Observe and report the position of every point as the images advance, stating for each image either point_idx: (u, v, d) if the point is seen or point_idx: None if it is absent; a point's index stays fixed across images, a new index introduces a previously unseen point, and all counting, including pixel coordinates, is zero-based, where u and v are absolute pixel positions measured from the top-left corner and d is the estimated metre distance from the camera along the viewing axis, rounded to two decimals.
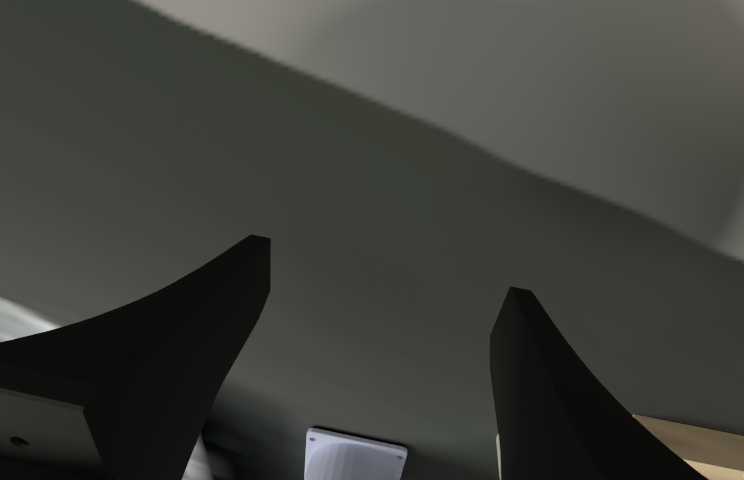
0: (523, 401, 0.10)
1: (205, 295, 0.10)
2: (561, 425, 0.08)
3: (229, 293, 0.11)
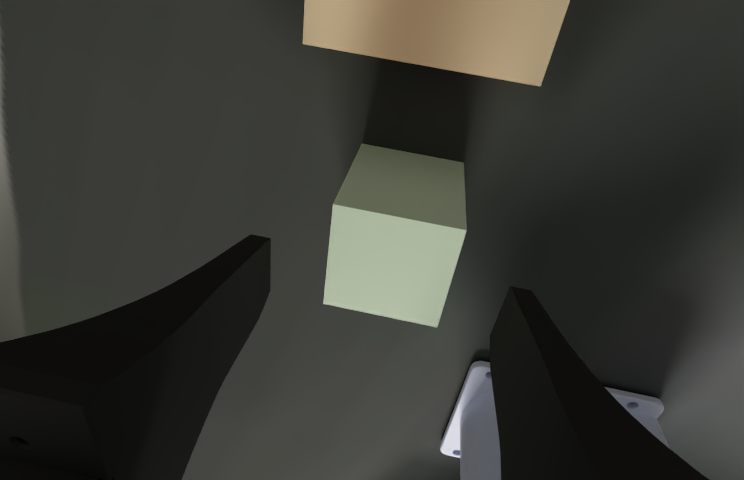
0: (523, 401, 0.10)
1: (205, 295, 0.10)
2: (561, 426, 0.08)
3: (229, 293, 0.11)
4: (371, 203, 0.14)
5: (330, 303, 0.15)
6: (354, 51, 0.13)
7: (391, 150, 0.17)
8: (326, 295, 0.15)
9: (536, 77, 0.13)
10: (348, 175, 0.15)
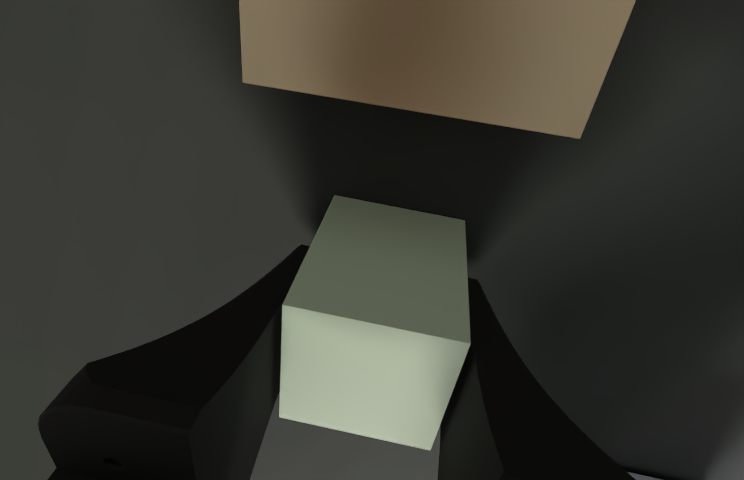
0: (457, 387, 0.10)
1: (272, 309, 0.10)
2: (478, 408, 0.08)
3: None
4: (337, 299, 0.10)
5: (288, 417, 0.12)
6: (315, 92, 0.09)
7: (372, 205, 0.13)
8: (282, 408, 0.11)
9: (574, 126, 0.09)
10: (310, 250, 0.11)
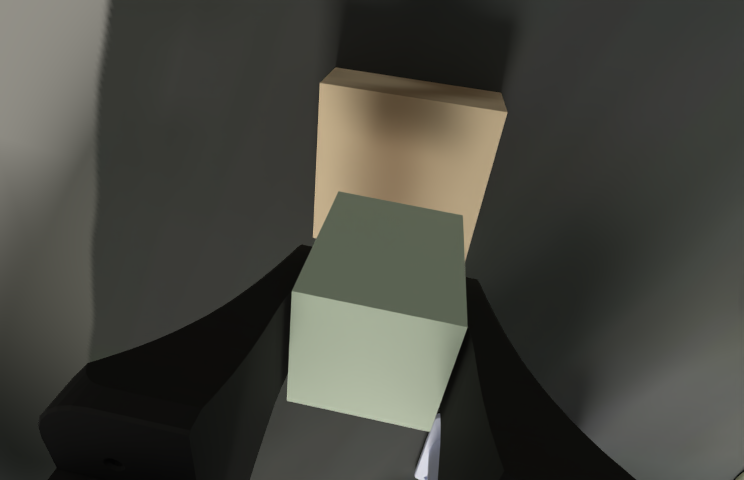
0: (458, 387, 0.10)
1: (272, 309, 0.10)
2: (478, 407, 0.08)
3: (290, 306, 0.11)
4: (342, 287, 0.10)
5: (295, 400, 0.12)
6: None
7: (374, 201, 0.14)
8: (290, 392, 0.12)
9: None
10: (317, 242, 0.12)
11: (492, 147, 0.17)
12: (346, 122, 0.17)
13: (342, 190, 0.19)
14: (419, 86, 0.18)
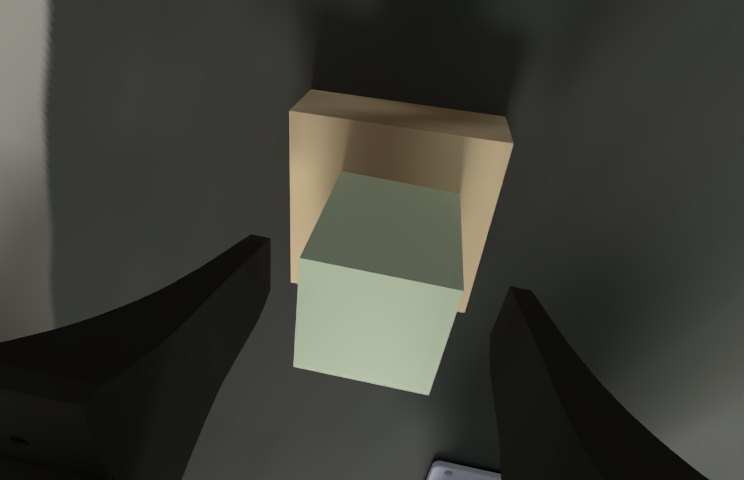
0: (523, 401, 0.10)
1: (205, 295, 0.10)
2: (560, 425, 0.08)
3: (229, 293, 0.11)
4: (347, 255, 0.11)
5: (301, 366, 0.13)
6: None
7: (375, 179, 0.15)
8: (296, 358, 0.13)
9: (461, 308, 0.17)
10: (322, 215, 0.12)
11: (496, 183, 0.14)
12: (322, 155, 0.15)
13: None
14: (408, 111, 0.15)
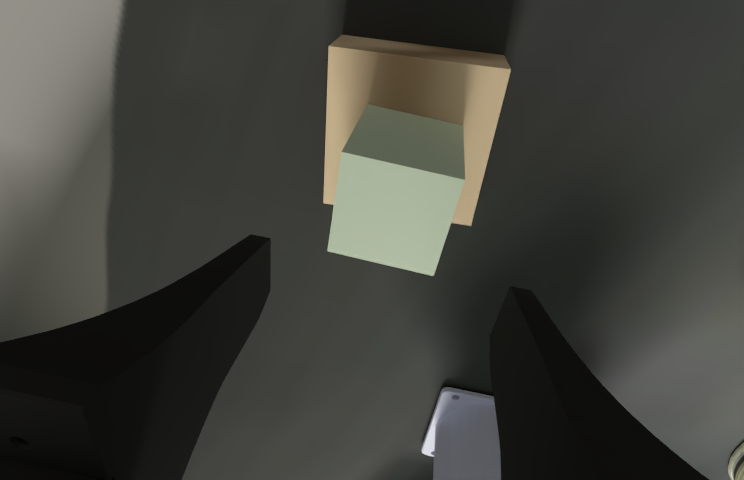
0: (523, 401, 0.10)
1: (205, 295, 0.10)
2: (561, 425, 0.08)
3: (229, 293, 0.11)
4: (376, 153, 0.14)
5: (334, 251, 0.16)
6: None
7: (395, 111, 0.18)
8: (330, 242, 0.16)
9: (467, 221, 0.21)
10: (355, 129, 0.16)
11: (497, 105, 0.18)
12: (354, 85, 0.18)
13: None
14: (425, 49, 0.18)
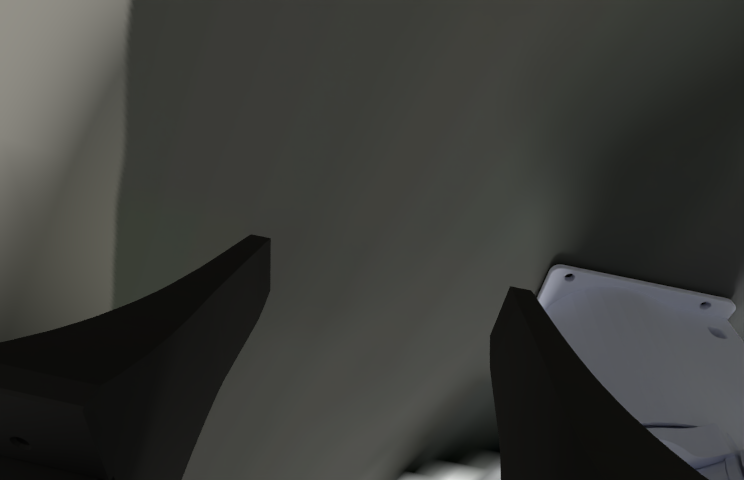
0: (523, 401, 0.10)
1: (205, 295, 0.10)
2: (561, 426, 0.08)
3: (229, 293, 0.11)
4: None
5: None
6: None
7: None
8: None
9: None
10: None
11: None
12: None
13: None
14: None
